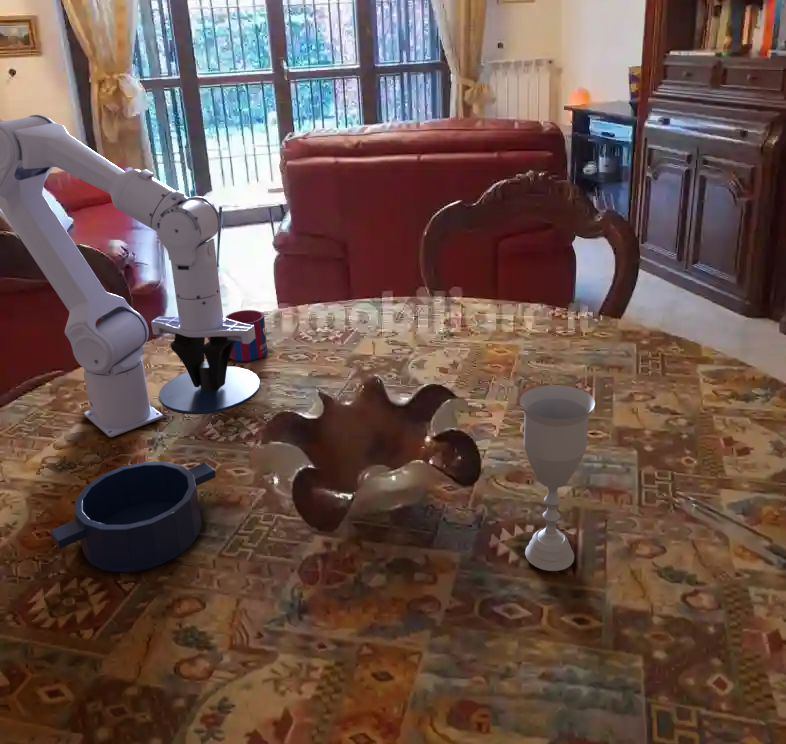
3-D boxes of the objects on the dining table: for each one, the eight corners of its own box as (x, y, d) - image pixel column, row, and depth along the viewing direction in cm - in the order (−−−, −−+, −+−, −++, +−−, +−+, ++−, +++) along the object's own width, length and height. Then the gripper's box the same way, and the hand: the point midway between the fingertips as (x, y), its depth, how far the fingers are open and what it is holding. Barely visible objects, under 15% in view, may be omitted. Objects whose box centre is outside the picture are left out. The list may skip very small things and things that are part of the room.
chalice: (541, 586, 74) (549, 426, 68) (501, 547, 80) (505, 396, 73) (598, 561, 77) (611, 406, 71) (556, 525, 83) (564, 379, 77)
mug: (261, 362, 126) (257, 324, 124) (204, 361, 127) (199, 324, 125) (272, 346, 132) (268, 309, 130) (217, 345, 133) (212, 309, 131)
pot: (41, 545, 83) (31, 503, 81) (188, 478, 94) (183, 441, 92) (85, 604, 74) (76, 559, 72) (242, 522, 85) (237, 482, 83)
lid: (142, 395, 104) (137, 365, 102) (227, 364, 113) (224, 336, 111) (190, 429, 95) (186, 397, 93) (279, 393, 103) (277, 363, 101)
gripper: (261, 286, 100) (270, 378, 105) (167, 278, 104) (179, 367, 109) (236, 304, 93) (246, 401, 98) (136, 295, 98) (151, 389, 102)
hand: (209, 385), depth 103 cm, fingers closed on lid, 2 cm apart
